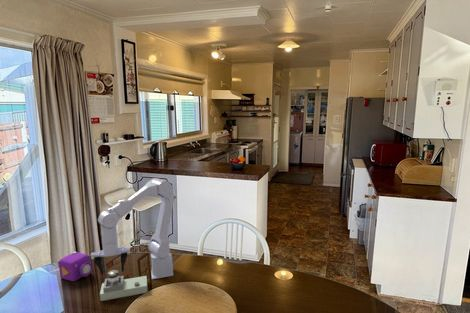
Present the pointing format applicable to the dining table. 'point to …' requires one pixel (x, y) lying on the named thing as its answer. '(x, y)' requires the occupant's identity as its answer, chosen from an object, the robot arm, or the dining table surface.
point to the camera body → (123, 288)
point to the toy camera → (75, 266)
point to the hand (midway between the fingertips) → (112, 272)
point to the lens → (113, 278)
